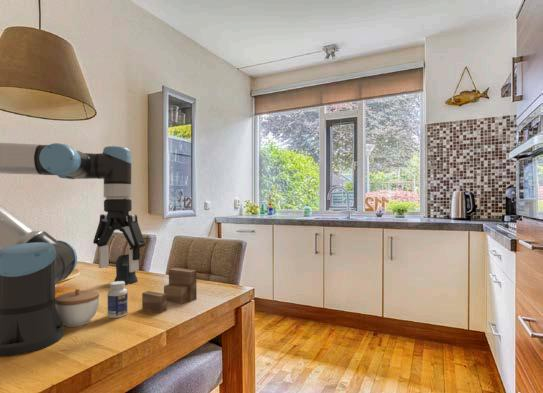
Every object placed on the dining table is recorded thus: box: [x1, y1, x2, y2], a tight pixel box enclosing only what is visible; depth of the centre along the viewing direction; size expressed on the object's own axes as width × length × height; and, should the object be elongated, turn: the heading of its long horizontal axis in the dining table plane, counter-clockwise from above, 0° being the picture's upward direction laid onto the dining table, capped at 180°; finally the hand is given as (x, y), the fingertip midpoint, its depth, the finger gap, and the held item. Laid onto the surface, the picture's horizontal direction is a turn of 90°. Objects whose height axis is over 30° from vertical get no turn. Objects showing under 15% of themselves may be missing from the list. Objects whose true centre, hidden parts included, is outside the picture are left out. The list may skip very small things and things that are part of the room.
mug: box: [113, 253, 138, 286], centre depth 132 cm, size 12×9×11 cm
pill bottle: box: [107, 281, 128, 319], centre depth 95 cm, size 5×5×10 cm
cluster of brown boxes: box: [141, 267, 198, 314], centre depth 105 cm, size 15×10×10 cm, turn 153°
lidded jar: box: [55, 288, 100, 328], centre depth 89 cm, size 11×11×9 cm
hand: (118, 269), depth 95 cm, fingers open, 13 cm apart
